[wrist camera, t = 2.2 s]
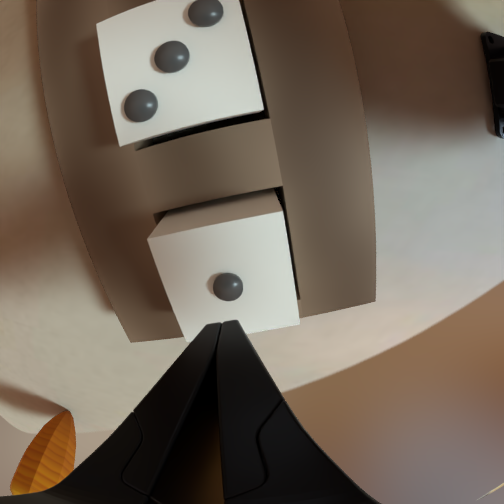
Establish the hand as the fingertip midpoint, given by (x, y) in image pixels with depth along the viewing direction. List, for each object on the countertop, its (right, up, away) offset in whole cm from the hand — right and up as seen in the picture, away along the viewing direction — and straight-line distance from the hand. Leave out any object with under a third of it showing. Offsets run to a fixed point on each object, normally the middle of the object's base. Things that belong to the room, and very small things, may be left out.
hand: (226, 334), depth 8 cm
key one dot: (0, +2, +5) cm, 6 cm away
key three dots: (-2, +9, +2) cm, 10 cm away
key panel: (-2, +10, +3) cm, 10 cm away
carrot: (-16, -13, +13) cm, 24 cm away
